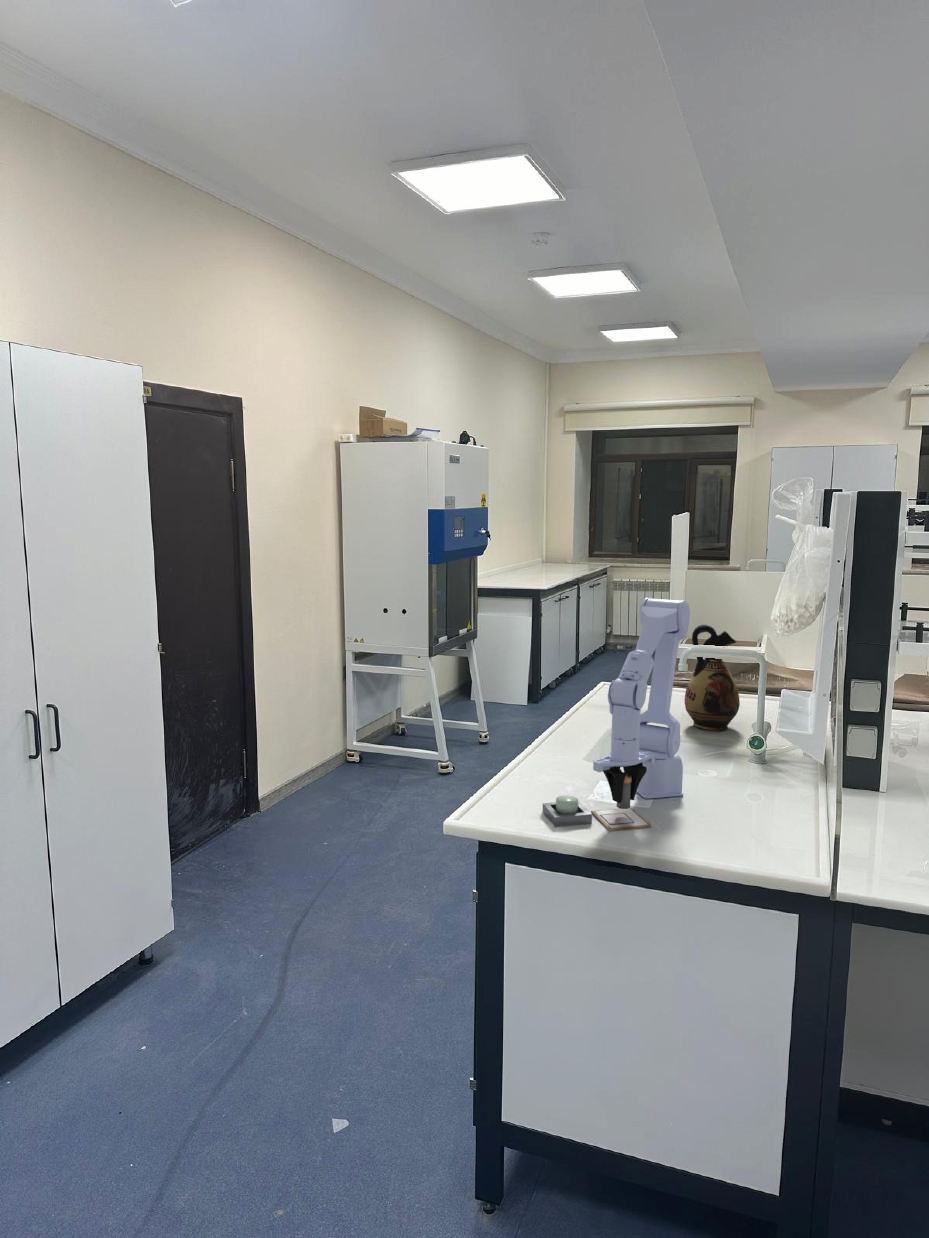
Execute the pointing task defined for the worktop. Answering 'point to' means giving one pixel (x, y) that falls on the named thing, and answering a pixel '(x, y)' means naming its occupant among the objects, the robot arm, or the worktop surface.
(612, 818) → the wooden framed board
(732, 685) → the ceramic jug
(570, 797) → the button
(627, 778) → the marker
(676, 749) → the robot arm
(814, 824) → the worktop surface
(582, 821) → the button housing
